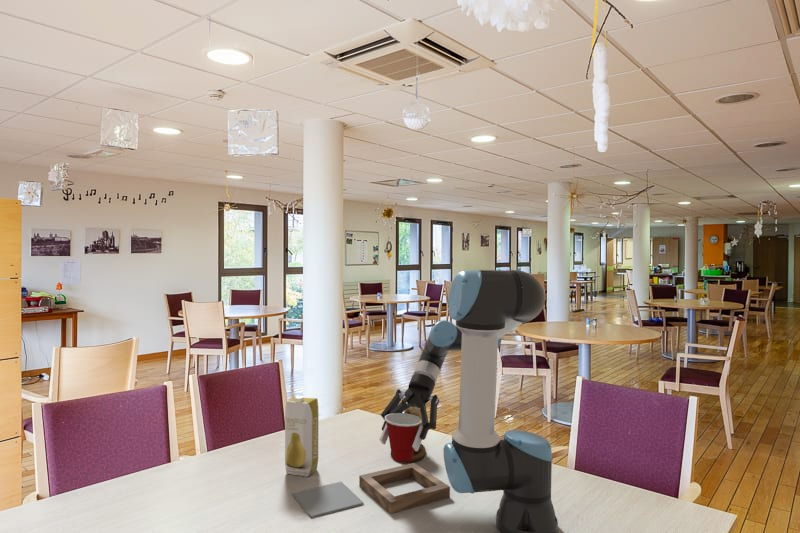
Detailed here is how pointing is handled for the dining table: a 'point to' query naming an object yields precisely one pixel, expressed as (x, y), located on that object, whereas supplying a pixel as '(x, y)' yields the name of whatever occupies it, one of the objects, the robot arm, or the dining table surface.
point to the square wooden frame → (408, 500)
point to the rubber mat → (327, 499)
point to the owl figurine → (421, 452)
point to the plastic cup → (402, 435)
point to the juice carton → (301, 435)
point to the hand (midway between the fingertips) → (398, 445)
